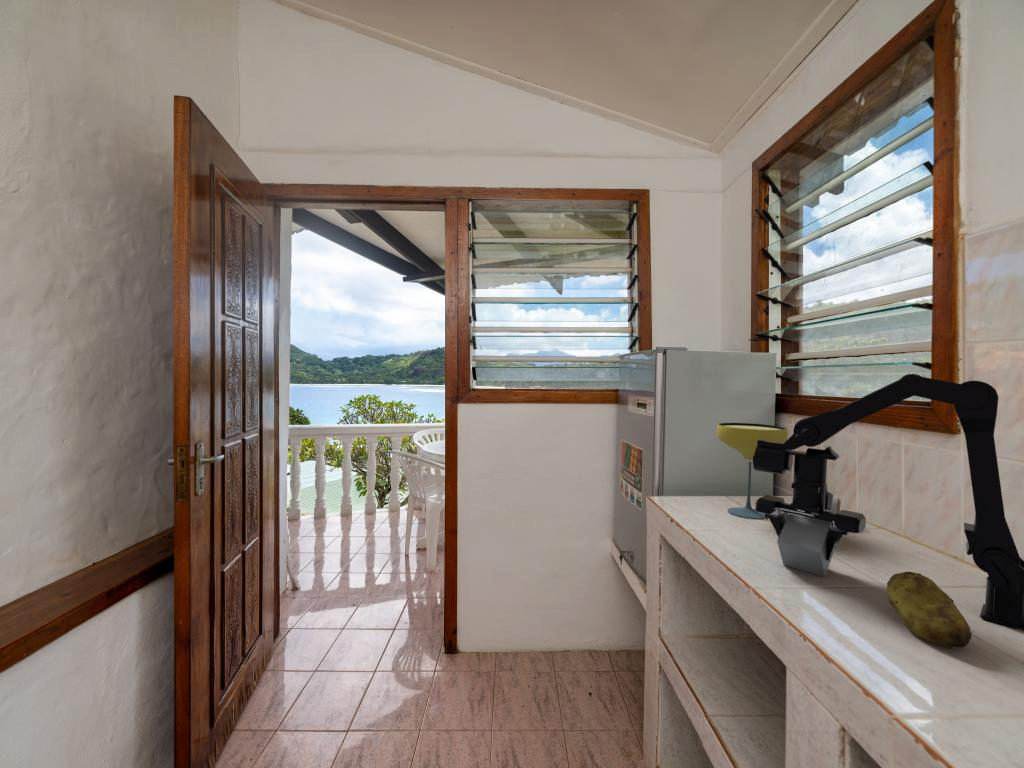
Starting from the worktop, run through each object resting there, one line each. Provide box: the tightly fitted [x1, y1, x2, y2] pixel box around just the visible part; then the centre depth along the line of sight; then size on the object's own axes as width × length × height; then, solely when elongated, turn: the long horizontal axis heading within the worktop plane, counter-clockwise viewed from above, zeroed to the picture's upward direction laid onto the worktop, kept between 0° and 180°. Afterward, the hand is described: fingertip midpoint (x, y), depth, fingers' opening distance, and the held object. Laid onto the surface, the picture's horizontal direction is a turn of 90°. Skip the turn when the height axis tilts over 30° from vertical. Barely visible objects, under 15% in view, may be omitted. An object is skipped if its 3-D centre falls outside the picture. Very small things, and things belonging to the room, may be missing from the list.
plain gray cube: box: [777, 513, 835, 577], centre depth 103 cm, size 8×8×7 cm
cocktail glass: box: [716, 422, 789, 520], centre depth 143 cm, size 18×18×25 cm
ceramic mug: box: [803, 496, 842, 524], centre depth 139 cm, size 11×8×8 cm
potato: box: [886, 571, 973, 650], centre depth 78 cm, size 8×13×8 cm, turn 158°
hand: (805, 554), depth 103 cm, fingers closed on plain gray cube, 8 cm apart
